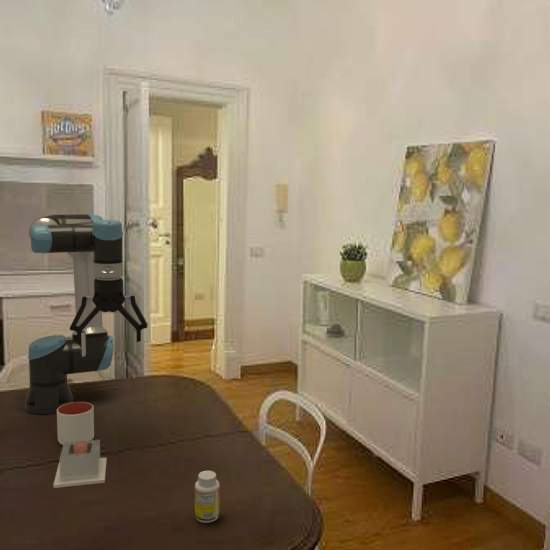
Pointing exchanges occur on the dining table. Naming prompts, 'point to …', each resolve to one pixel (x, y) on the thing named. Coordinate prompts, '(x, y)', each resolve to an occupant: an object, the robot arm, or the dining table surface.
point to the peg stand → (81, 448)
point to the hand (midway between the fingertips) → (109, 354)
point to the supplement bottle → (207, 497)
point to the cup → (75, 422)
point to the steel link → (80, 461)
